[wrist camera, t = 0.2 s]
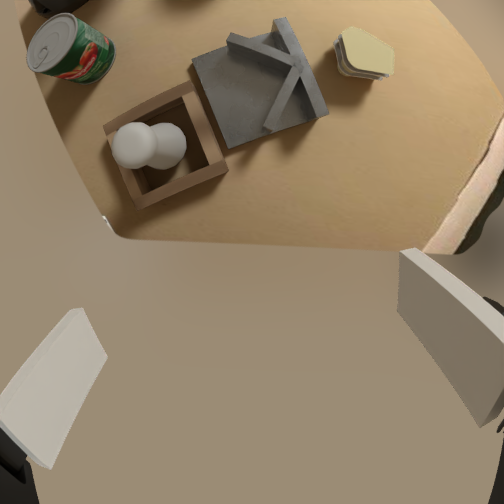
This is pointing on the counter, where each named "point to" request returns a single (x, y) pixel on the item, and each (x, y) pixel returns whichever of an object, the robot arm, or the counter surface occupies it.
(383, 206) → the counter surface
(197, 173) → the bore block
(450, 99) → the counter surface
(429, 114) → the counter surface
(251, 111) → the v-block
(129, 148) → the salt shaker
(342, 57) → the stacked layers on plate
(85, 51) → the canned tomato
